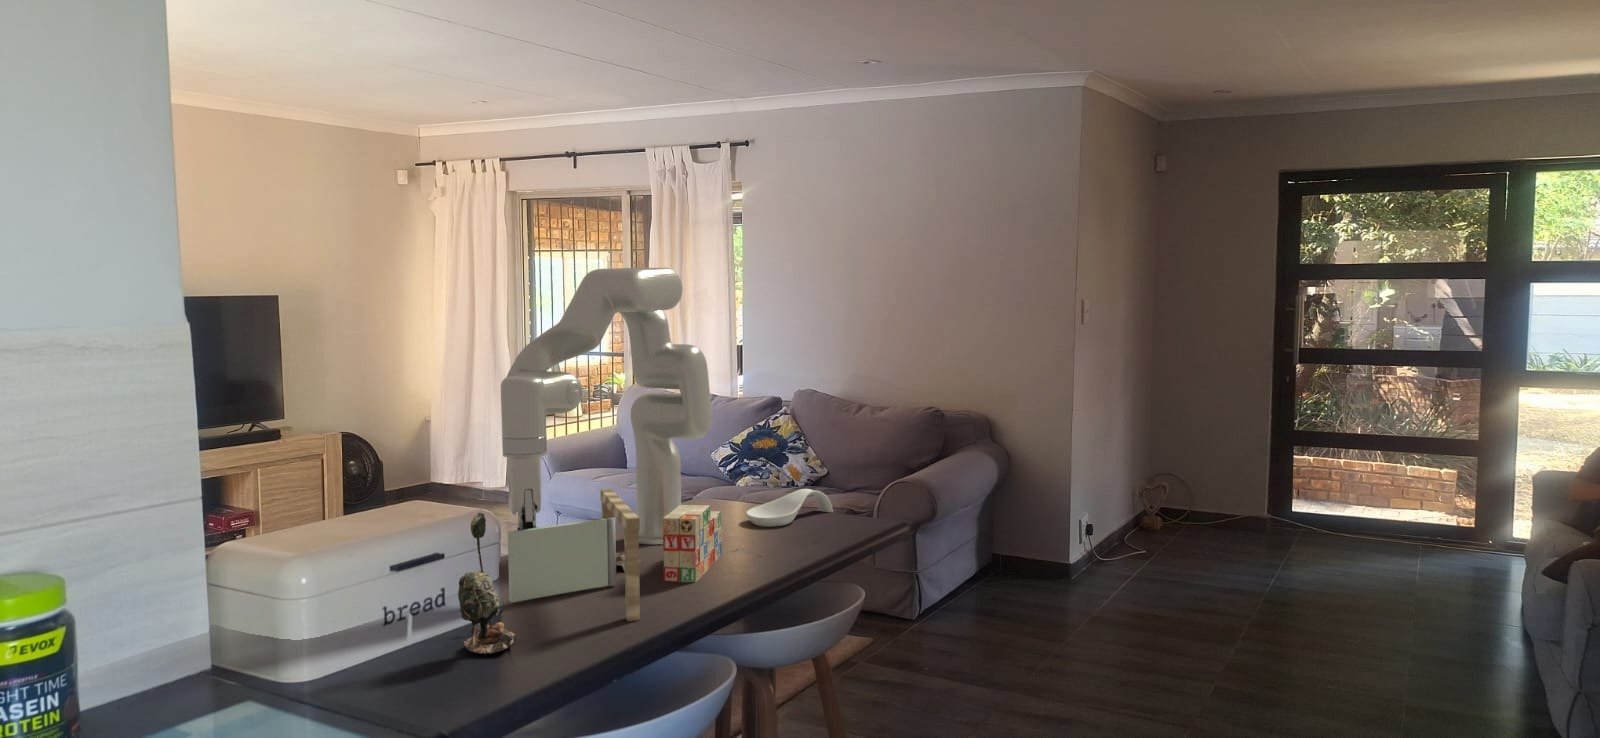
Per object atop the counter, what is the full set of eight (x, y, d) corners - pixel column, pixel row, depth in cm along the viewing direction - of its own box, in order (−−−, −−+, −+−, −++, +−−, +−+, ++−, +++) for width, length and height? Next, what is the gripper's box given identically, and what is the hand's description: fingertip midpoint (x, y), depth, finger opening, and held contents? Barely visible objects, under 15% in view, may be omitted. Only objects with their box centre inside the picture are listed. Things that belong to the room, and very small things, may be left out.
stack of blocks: (692, 555, 221) (691, 495, 220) (722, 556, 220) (721, 496, 220) (663, 583, 200) (662, 516, 199) (696, 584, 199) (695, 517, 198)
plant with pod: (440, 656, 160) (437, 521, 158) (484, 633, 170) (481, 507, 169) (489, 661, 157) (485, 525, 156) (530, 637, 168) (527, 509, 167)
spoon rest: (770, 535, 240) (770, 502, 240) (735, 527, 249) (735, 496, 248) (843, 519, 257) (843, 489, 257) (808, 512, 265) (808, 483, 265)
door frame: (602, 580, 202) (600, 489, 201) (612, 579, 202) (611, 488, 201) (628, 623, 175) (627, 518, 174) (641, 621, 176) (639, 518, 175)
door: (613, 582, 198) (612, 517, 198) (617, 584, 197) (616, 518, 196) (508, 600, 187) (507, 531, 186) (512, 602, 186) (510, 533, 185)
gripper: (499, 441, 196) (503, 542, 197) (505, 454, 181) (508, 562, 183) (542, 439, 198) (545, 538, 199) (551, 451, 184) (554, 558, 185)
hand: (527, 549), depth 191 cm, fingers closed
